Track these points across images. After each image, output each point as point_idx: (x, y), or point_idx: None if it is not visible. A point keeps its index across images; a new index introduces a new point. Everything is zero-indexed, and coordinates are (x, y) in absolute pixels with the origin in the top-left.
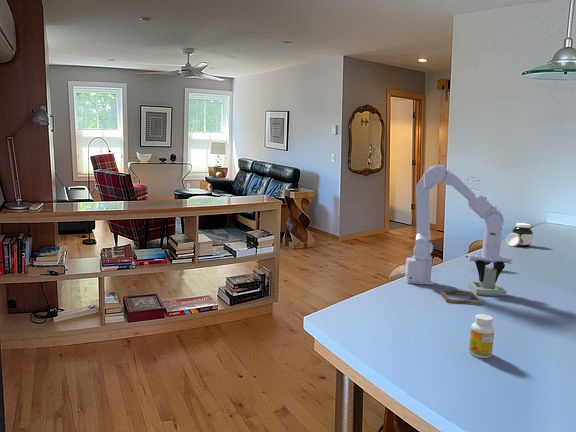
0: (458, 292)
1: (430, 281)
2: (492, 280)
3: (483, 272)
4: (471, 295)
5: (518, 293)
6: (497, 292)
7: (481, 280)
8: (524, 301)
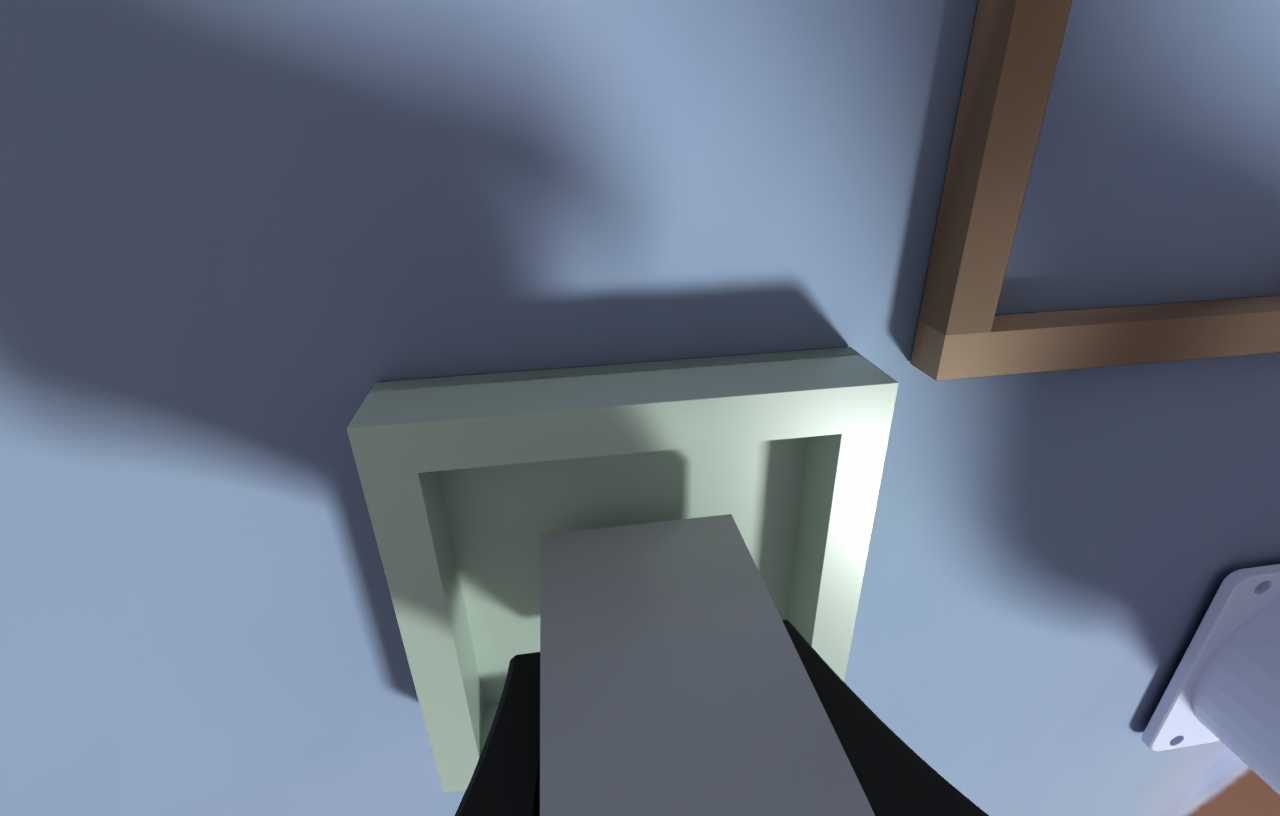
0: (1132, 312)
1: (1222, 642)
2: (605, 649)
3: (875, 793)
4: (1009, 194)
5: (138, 612)
6: (522, 397)
7: (797, 635)
8: (15, 195)
